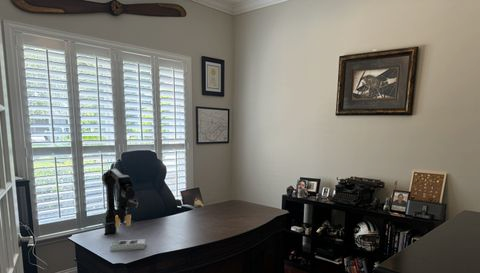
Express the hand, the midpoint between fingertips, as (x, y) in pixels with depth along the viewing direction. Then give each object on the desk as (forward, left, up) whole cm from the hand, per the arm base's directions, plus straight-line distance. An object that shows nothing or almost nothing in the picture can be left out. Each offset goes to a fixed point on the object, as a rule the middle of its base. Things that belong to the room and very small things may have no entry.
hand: (123, 222), depth 169 cm
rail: (+5, -9, -12) cm, 16 cm away
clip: (0, 0, -2) cm, 2 cm away
